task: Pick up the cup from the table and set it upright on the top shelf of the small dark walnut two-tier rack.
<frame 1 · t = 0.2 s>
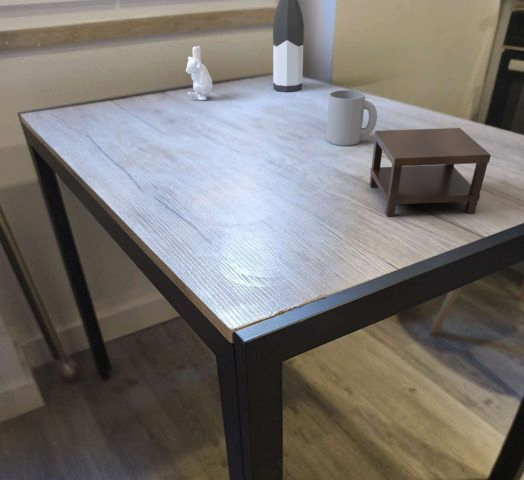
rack: (419, 198, 84), on the table
cup: (349, 142, 107), on the table
white upright figurine: (200, 99, 136), on the table
wine bottle: (287, 89, 143), on the table
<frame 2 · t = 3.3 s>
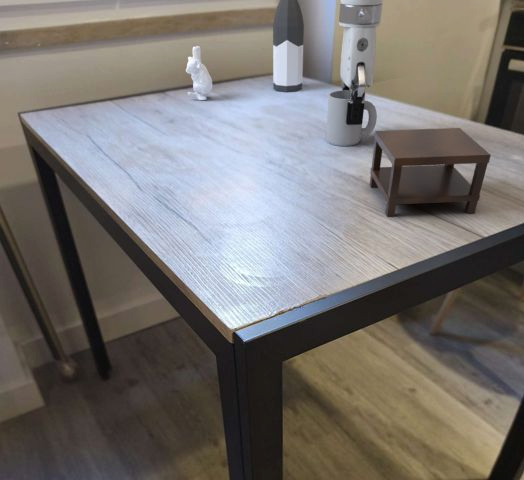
hand: (350, 117, 104), 5 cm above the table, tool pointing down, fingers closed on cup, 7 cm apart
cup: (349, 142, 107), on the table, touching gripper
everything else where it was.
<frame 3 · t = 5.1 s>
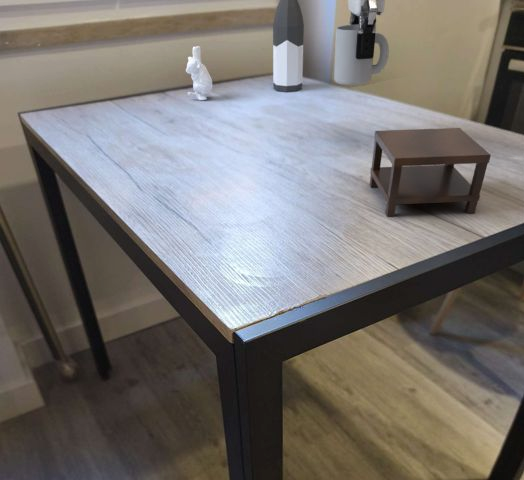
hand: (360, 53, 96), 16 cm above the table, tool pointing down, fingers closed on cup, 7 cm apart
cup: (359, 82, 99), point 11 cm above the table, touching gripper
everything else where it was.
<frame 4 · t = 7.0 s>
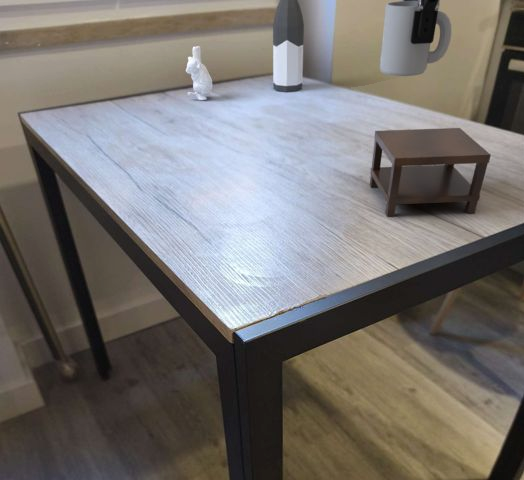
hand: (414, 37, 78), 21 cm above the table, tool pointing down, fingers closed on cup, 7 cm apart
cup: (411, 73, 80), point 17 cm above the table, touching gripper
everything else where it was.
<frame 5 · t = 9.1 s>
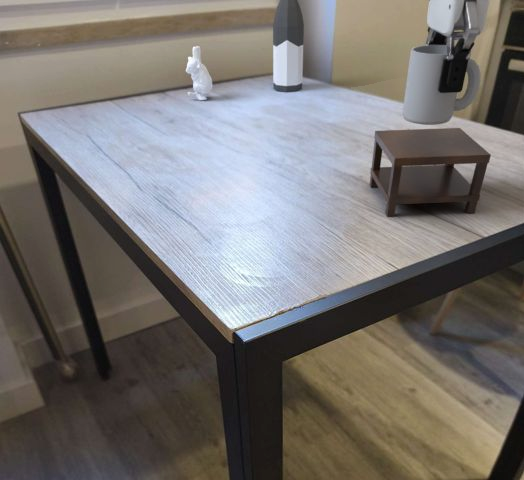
hand: (440, 84, 73), 17 cm above the table, tool pointing down, fingers closed on cup, 7 cm apart
cup: (436, 120, 76), point 12 cm above the table, touching gripper
everything else where it was.
when the fingers open (14 cm above the table, at t = 10.7 s): cup stays where it is, resting on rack.
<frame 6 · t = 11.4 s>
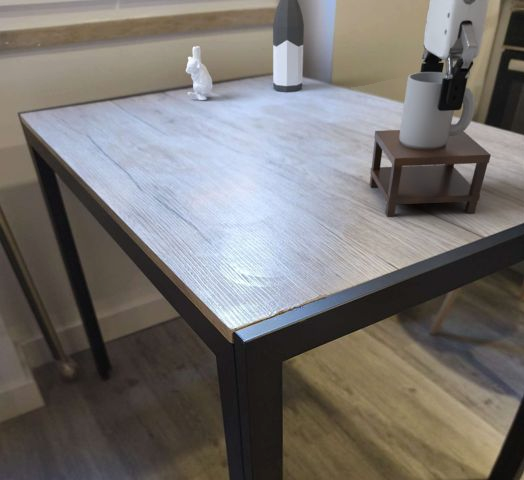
hand: (437, 100, 74), 15 cm above the table, tool pointing down, fingers open, 9 cm apart
cup: (431, 144, 78), point 9 cm above the table, touching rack
everything else where it was.
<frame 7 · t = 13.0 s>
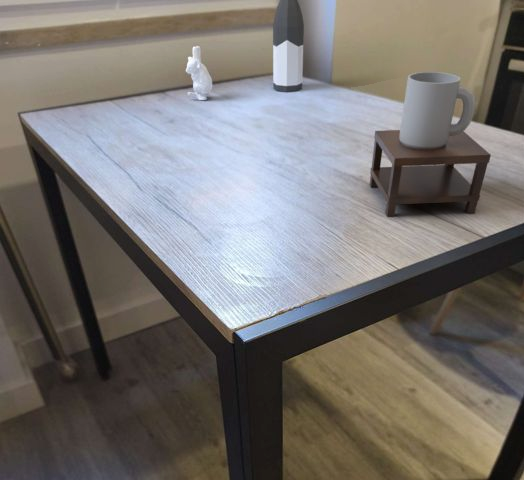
nothing on the table moved.
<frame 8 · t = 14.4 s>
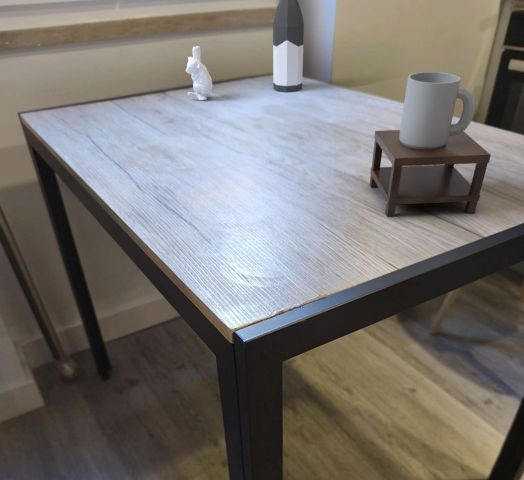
nothing on the table moved.
at the end: cup inside the target area on the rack (0.4 cm from its centre), point 8.8 cm above the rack's base; cup tilted 0°; the gripper is holding nothing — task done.
